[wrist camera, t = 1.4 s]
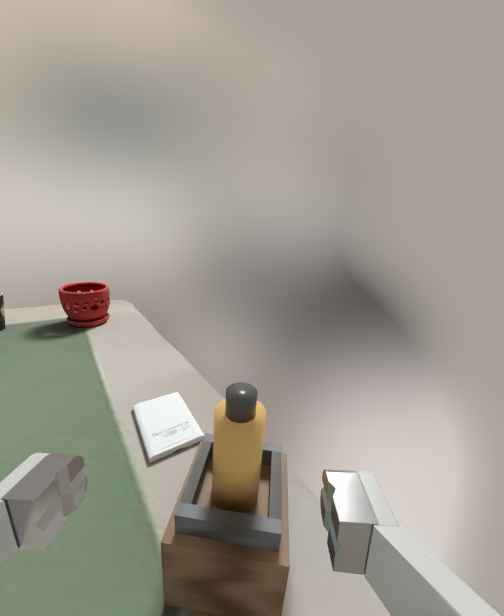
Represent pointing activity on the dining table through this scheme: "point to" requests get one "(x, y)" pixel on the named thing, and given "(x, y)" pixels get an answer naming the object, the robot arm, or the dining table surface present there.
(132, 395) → the dining table surface
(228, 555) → the walnut stand
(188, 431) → the external hard drive
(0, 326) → the coffee mug
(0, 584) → the dining table surface
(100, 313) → the plant pot
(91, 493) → the dining table surface
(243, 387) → the yellow bottle
